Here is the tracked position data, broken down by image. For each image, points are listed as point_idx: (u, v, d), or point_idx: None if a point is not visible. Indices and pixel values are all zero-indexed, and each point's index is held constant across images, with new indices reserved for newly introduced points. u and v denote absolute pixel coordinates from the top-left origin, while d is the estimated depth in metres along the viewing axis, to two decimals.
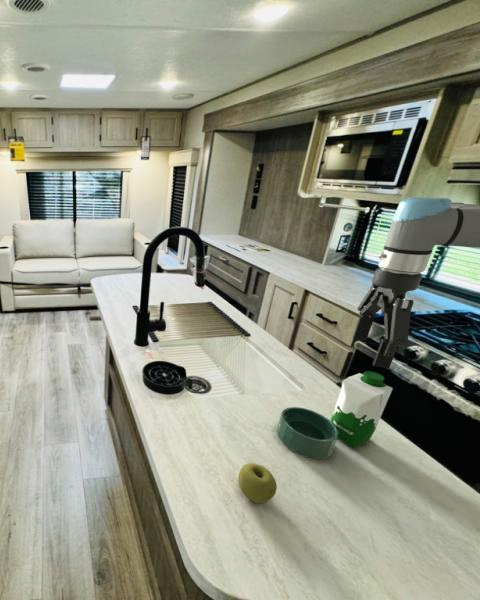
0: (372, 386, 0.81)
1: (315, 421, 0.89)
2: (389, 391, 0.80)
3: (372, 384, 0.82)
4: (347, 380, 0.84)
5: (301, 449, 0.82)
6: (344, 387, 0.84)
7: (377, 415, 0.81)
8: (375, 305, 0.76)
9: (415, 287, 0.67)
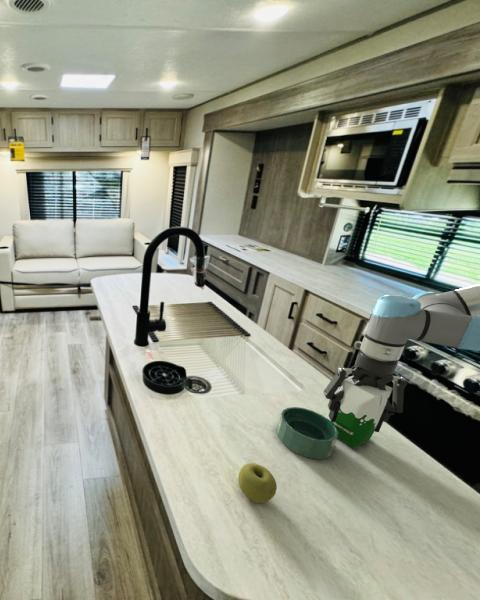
0: None
1: (315, 421, 0.89)
2: (389, 391, 0.80)
3: None
4: (347, 380, 0.84)
5: (301, 449, 0.82)
6: (344, 387, 0.84)
7: (377, 415, 0.81)
8: None
9: None
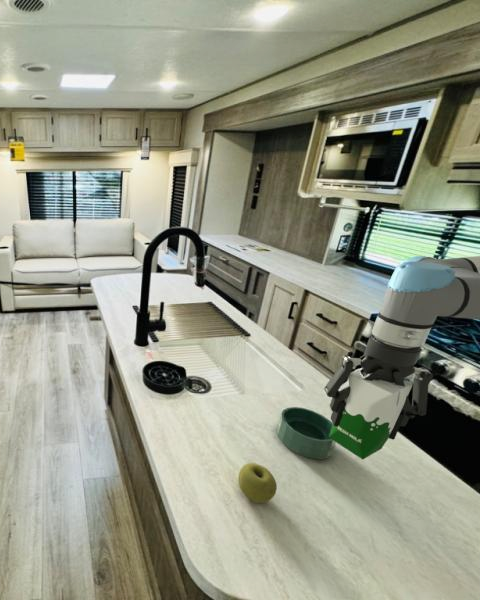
0: (386, 381, 0.64)
1: (315, 421, 0.89)
2: (409, 387, 0.63)
3: None
4: (354, 373, 0.67)
5: (301, 449, 0.82)
6: (351, 382, 0.67)
7: (393, 418, 0.63)
8: None
9: None
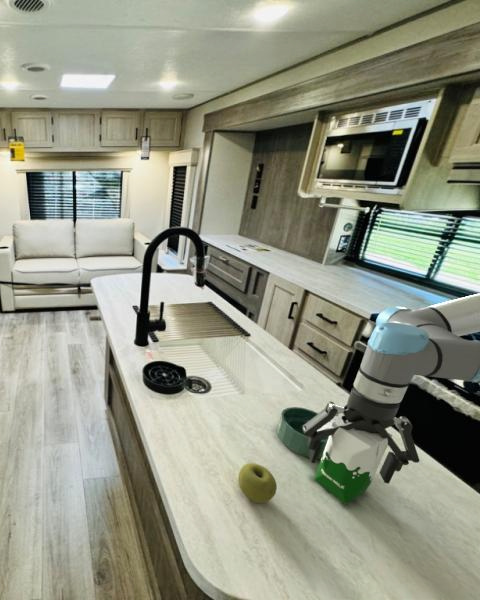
0: (367, 433, 0.67)
1: None
2: None
3: None
4: None
5: (301, 449, 0.82)
6: None
7: (373, 467, 0.67)
8: None
9: None
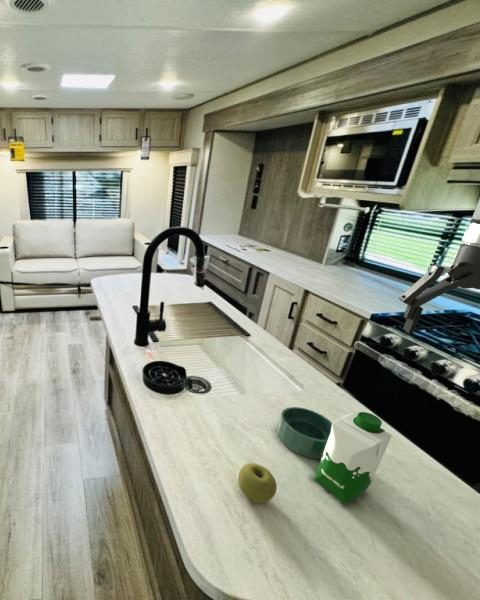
0: (367, 432, 0.67)
1: (315, 421, 0.89)
2: (388, 439, 0.66)
3: (367, 429, 0.68)
4: (337, 423, 0.70)
5: (301, 449, 0.82)
6: (334, 431, 0.70)
7: (373, 467, 0.67)
8: None
9: None
